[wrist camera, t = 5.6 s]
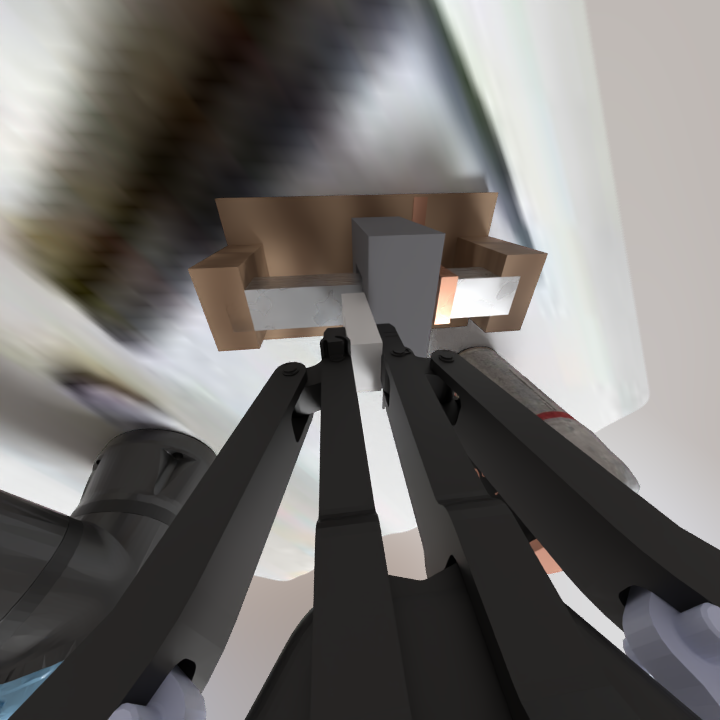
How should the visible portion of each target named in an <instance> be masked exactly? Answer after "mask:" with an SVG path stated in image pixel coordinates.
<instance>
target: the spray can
mask: <svg viewBox="0 0 720 720" xmlns="http://www.w3.org/2000/svg"><path fill="white" fill-rule="evenodd" d="M459 355H460V356H461V357H463V358H464V359H465V360H466V361H468V362H469V363H470V364H472V365H473V366H474V367H475V368H477V369H478V370H479V371H481V372H482V373H483V374H484V375H486V376H487V377H488V378H490V379H491V380H492V381H493V382H495V383H496V384H497V385H499V386H500V387H501V388H502V389H504V390H505V391H506V392H507V393H509V394H510V395H511V396H513V397H514V398H515V399H516V400H518V401H519V402H520V403H522V404H523V405H524V406H525V407H527V408H528V409H529V410H531V411H532V412H533V413H534V414H536V415H537V416H538V417H540V418H541V419H542V420H543V421H545V422H546V423H547V424H548V425H550V426H551V427H552V428H554V429H555V430H556V431H557V432H559V433H560V434H561V435H563V436H564V437H565V438H566V439H568V440H569V441H570V442H572V443H573V444H574V445H575V446H577V447H578V448H579V449H581V450H582V451H583V452H584V453H586V454H587V455H588V456H590V457H591V458H592V459H593V460H595V461H596V462H597V463H598V464H600V465H601V466H602V467H604V468H605V469H606V470H607V471H609V472H610V473H611V474H613V475H614V476H615V477H616V478H618V479H619V480H620V481H622V482H623V483H624V484H625V485H627V486H628V487H629V488H631V489H632V490H633V491H634V492H636V493H638V491H639V489H640V485H639V484H638V481H637V480H636V478H635V477H634V475H633V474H632V472H631V471H630V470H629V468H628V467H627V466H626V465H625V464H624V463H623V462H622V461H621V460H620V459H619V458H618V457H617V456H616V455H615V454H614V453H612V452H611V451H610V450H609V449H608V448H607V447H606V446H605V445H604V443H603V442H601V440H600V439H599V438H598V437H597V436H596V435H595V434H594V433H593V432H592V431H590V430H589V429H588V428H586V427H585V426H584V425H582V424H581V423H580V422H578V421H577V420H576V419H574V418H573V417H572V416H570V415H569V414H568V413H567V412H566V411H564V410H563V409H562V408H561V407H560V406H558V405H557V404H556V403H555V402H554V401H553V400H552V399H550V398H549V397H548V396H547V395H546V394H544V393H543V392H542V391H541V390H540V389H538V388H537V387H536V386H535V385H534V384H533V383H532V382H530V381H529V380H528V379H527V378H526V377H525V376H523V375H522V374H521V373H520V372H519V371H517V370H516V369H515V368H514V367H513V366H511V365H510V364H509V363H508V362H506V361H505V360H504V359H503V358H502V357H501V356H499V355H498V354H497V353H496V352H495V351H494V350H492V349H491V348H487V347H473V348H471V349H470V348H469V349H466V350H464V351H463V352H461V353H459ZM454 395H455V396H456V397H457V398H459V396H458V395H457V394H456V393H454Z"/></svg>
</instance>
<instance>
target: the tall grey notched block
mask: <svg viewBox="0 0 720 720" xmlns="http://www.w3.org/2000/svg"><path fill="white" fill-rule="evenodd" d="M351 221H352V254H353V273H359V272H360V274H361V276H362V293H363V292H364V293H365V296H366V299H367V302H368V304H369V307H370V310H371V312H372V315H373V318H374V321H375V323H376V324H384V323H390V324H391V325H393V326H394V327H395V329H396V331H397V333H398V335H399V337H400V339H401V341H402V343H403V345H404V346H405V347H408V348H410V349H411V350H412V351H413V353H414V355H415V356H417V357H423V358H427V352H428V346H429V339H430V332H431V326H432V319H433V312H434V306H435V299H436V293H437V286H438V279H439V273H440V266H441V260H442V253H443V246H444V240H445V233H442V232H440V231H437V230H434V229H432V228H429V227H426V226H424V225H421V224H418V223H415V222H413V221H410V220H407V219H405V218H402V217H399V216H396V217H361V218H351ZM381 388H383V387H382V383H381Z"/></svg>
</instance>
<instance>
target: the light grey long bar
mask: <svg viewBox="0 0 720 720" xmlns="http://www.w3.org/2000/svg"><path fill="white" fill-rule="evenodd" d="M514 277H515V278H514ZM514 277H500V276H498V275H496V274H494V273H492V272H490V271H488V270H486V269H484V268H482V267H466V268H445V267H443V266H442V265H441V266H440V273H439V279H438V286H437V293H436V299H435V306H434V312H433V319H432V322H433V323H434V325H435V324H449V323H450V318H462V317H478V316H493V315H508V314H509V311H510V308H511V305H512V301H513V298H514V295H515V292H516V289H517V286H518V283H519V280H520V277H521V276H519V277H518V276H514ZM512 278H513V279H512ZM504 282H505V283H504ZM502 283H503V284H502ZM500 285H501V286H500ZM503 285H504V286H503ZM511 286H512V287H511ZM512 290H513V291H512ZM244 292H245V295H246V299H247V303H248V307H249V310H250V314H251V318H252V321H253V325H254V329H255V331H260V330H275V329H291V328H307V327H322V326H338V325H343V315H342V299H341V294H345V293H362V276H361V274H360V272H359V273H338V274H317V275H296V276H274V277H254V278H253V280H252V281H251V282H250V284H249V285H248V286H247V287H246V289H245V290H244ZM509 296H510V297H509ZM235 299H236V298H235ZM232 305H233V304H232ZM245 307H246V306H245ZM227 308H228V306H227ZM231 316H232V315H231ZM245 320H246V319H245ZM240 321H242V320H240ZM234 323H235V322H234ZM240 324H241V323H240ZM248 324H249V323H248ZM235 325H236V324H235ZM231 326H232V324H231ZM233 326H234V324H233ZM242 326H243V325H242ZM239 327H240V326H239ZM249 327H250V326H249ZM244 328H245V327H244ZM251 328H252V327H251ZM251 328H249V329H251ZM236 329H237V327H236ZM238 329H240V328H238ZM241 329H243V328H241ZM234 330H235V329H234ZM238 331H239V330H238ZM238 331H235V332H238ZM243 331H244V330H243ZM233 332H234V331H233ZM240 332H241V331H240Z"/></svg>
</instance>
